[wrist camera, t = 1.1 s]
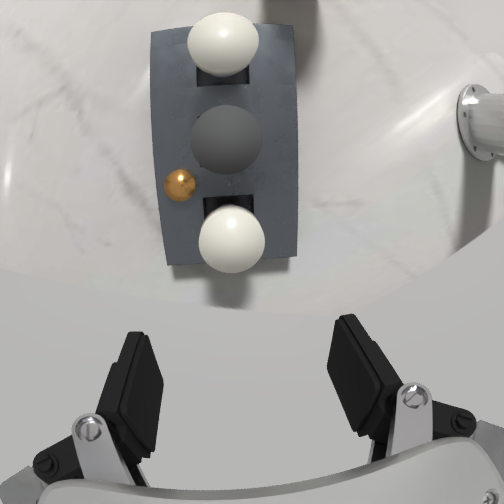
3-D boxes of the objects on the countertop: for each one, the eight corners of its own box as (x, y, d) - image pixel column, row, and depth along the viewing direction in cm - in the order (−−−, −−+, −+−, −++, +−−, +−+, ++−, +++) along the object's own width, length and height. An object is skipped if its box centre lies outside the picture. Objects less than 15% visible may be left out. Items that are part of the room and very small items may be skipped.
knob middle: (252, 112, 23) (261, 103, 18) (254, 165, 25) (263, 172, 20) (196, 115, 23) (188, 108, 17) (198, 169, 25) (192, 177, 19)
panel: (157, 41, 22) (148, 29, 18) (286, 34, 23) (295, 22, 19) (171, 254, 32) (165, 269, 28) (290, 245, 33) (299, 259, 29)
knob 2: (255, 194, 26) (264, 209, 21) (256, 244, 29) (265, 270, 23) (201, 197, 26) (195, 214, 21) (205, 247, 28) (202, 275, 23)
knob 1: (249, 37, 20) (257, 12, 15) (251, 84, 22) (260, 68, 17) (194, 39, 20) (187, 15, 14) (195, 87, 22) (187, 72, 16)
